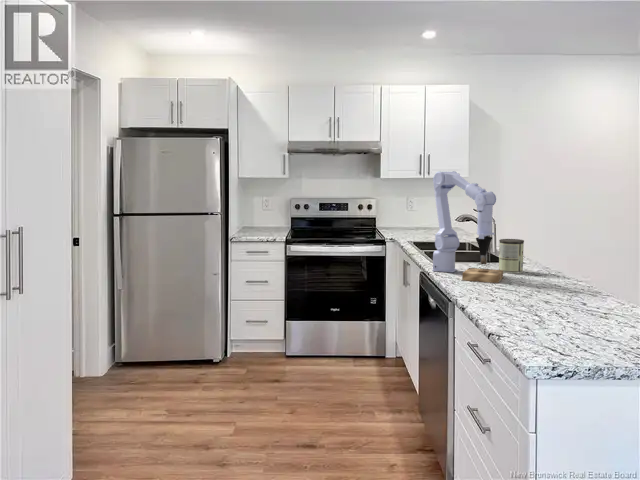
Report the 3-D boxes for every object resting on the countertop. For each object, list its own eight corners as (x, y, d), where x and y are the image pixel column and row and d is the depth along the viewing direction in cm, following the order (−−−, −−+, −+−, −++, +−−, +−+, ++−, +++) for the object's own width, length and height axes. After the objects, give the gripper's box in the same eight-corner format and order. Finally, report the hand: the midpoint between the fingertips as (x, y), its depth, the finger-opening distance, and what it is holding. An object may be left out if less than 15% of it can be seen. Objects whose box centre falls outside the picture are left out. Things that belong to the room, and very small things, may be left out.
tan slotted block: (462, 280, 226) (462, 272, 225) (468, 274, 238) (469, 267, 238) (498, 282, 220) (498, 275, 219) (503, 277, 232) (503, 270, 232)
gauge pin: (479, 264, 228) (480, 242, 227) (481, 263, 230) (482, 241, 229) (485, 264, 227) (486, 242, 226) (487, 263, 229) (488, 242, 228)
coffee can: (496, 269, 252) (497, 238, 250) (519, 270, 251) (520, 238, 249) (501, 273, 242) (502, 241, 240) (525, 273, 241) (526, 241, 239)
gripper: (492, 223, 218) (491, 257, 220) (497, 220, 231) (496, 253, 233) (473, 222, 221) (472, 256, 223) (480, 220, 234) (479, 252, 236)
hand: (483, 254), depth 228 cm, fingers closed on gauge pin, 2 cm apart
